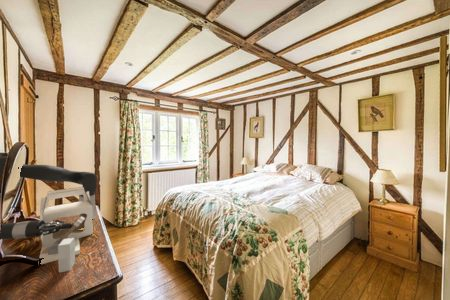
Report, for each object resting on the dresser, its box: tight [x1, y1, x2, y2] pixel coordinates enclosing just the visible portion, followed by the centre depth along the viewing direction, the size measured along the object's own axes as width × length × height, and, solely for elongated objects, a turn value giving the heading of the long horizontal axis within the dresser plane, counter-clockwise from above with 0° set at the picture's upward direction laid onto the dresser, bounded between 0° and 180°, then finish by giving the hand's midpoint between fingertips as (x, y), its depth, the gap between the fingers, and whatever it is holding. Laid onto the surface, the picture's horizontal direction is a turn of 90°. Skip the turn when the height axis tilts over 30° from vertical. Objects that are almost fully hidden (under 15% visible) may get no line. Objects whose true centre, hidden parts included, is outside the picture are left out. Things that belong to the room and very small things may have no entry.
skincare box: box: [57, 238, 76, 273], centre depth 87 cm, size 6×4×12 cm
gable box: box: [39, 186, 94, 247], centre depth 113 cm, size 22×13×28 cm, turn 137°
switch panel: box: [38, 237, 81, 265], centre depth 99 cm, size 14×15×6 cm
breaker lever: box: [57, 216, 85, 244], centre depth 100 cm, size 6×2×14 cm
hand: (72, 225), depth 100 cm, fingers closed
